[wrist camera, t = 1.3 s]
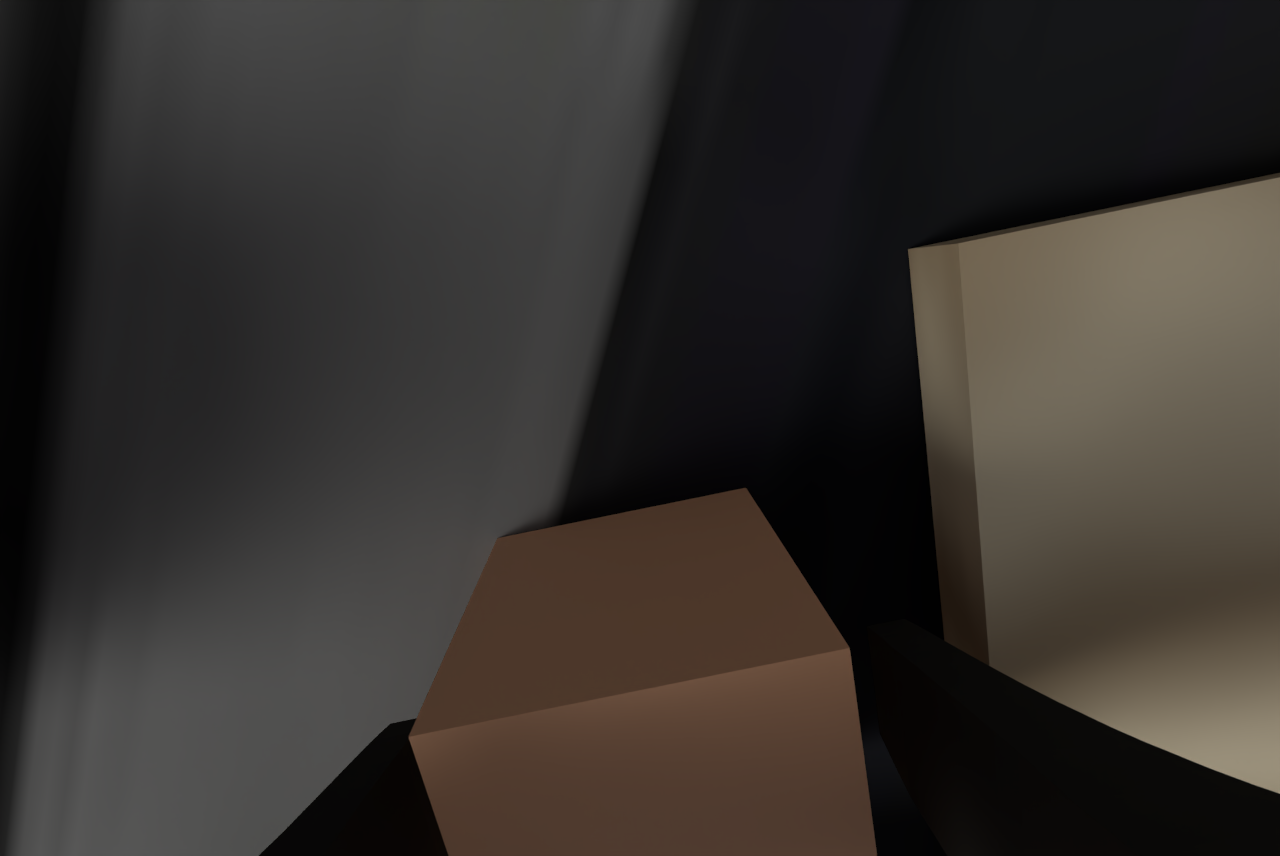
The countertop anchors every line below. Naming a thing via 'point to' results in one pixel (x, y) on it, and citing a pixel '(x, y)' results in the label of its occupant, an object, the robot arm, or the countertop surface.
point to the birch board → (1116, 463)
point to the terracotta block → (646, 697)
